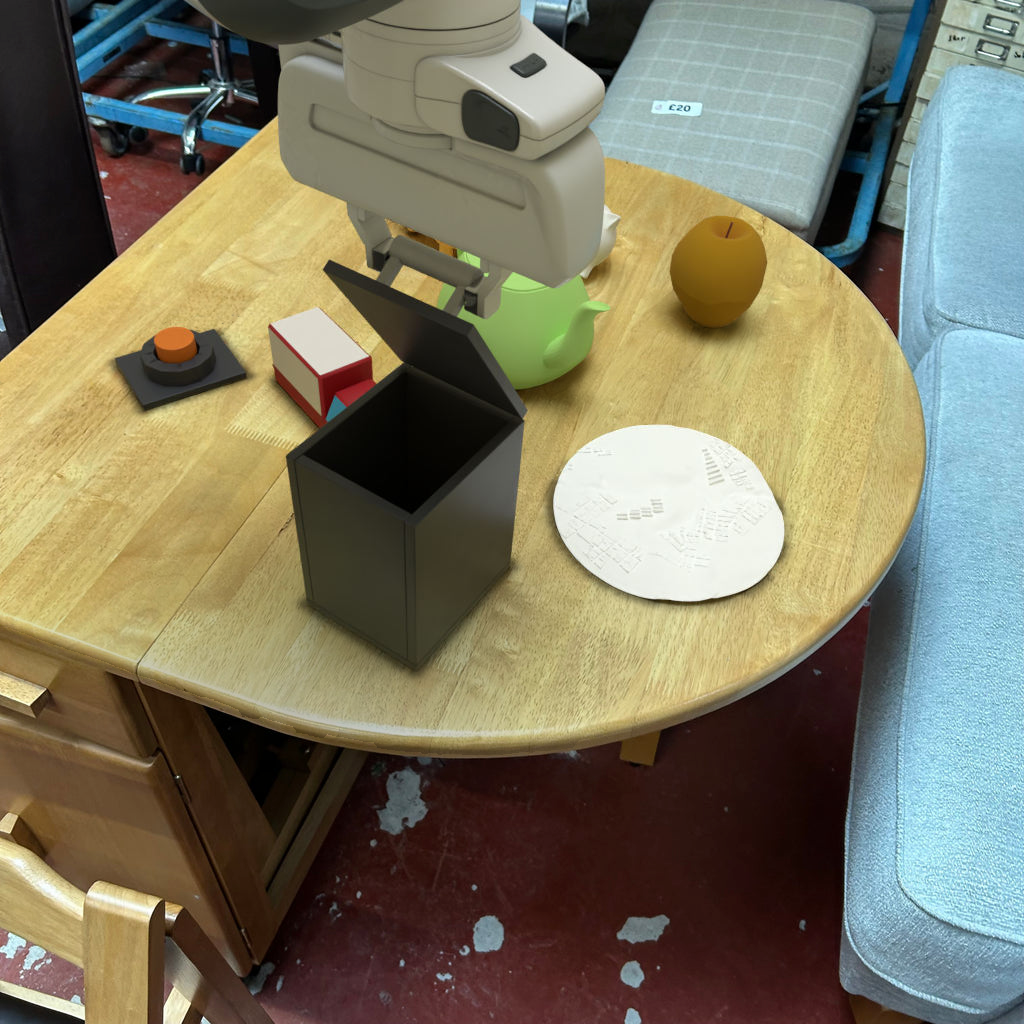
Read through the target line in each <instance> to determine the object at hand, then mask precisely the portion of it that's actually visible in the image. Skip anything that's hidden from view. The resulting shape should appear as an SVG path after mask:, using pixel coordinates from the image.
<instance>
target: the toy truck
mask: <svg viewBox="0 0 1024 1024" xmlns="http://www.w3.org/2000/svg"><path fill="white" fill-rule="evenodd" d="M267 330H268V338H269V345H270V352H271V358H272V367H273V372H274V373H273V374H274V379H275V381H276V382H277V383H278V384H279V385H280V386H281V387H282V388H283V389H284V391H285V392H286V393H287V394H288V395H289V396H290V397H291V398H292V399H293V401H295V403H296V404H297V405H298V406H299V407H300V408H301V409H302V410H303V411H304V412H305V413H306V415H307V416H308V417H309V418H310V419H311V420H312V422H314V423H315V425H316V426H317V427H318V428H319V429H320V428H321V427H322V426H324V425H325V424H326V423H328V422H329V421H330V420H331V419H333V418H334V417H335V416H336V415H338V414H339V413H340V412H341V411H343V410H344V409H345V408H347V407H348V406H349V405H350V404H352V403H353V402H354V401H355V400H357V399H358V398H359V397H360V396H362V395H363V394H364V393H366V392H367V391H368V390H369V389H371V388H372V387H373V386H374V385H376V384H377V383H378V382H376V381H375V380H374V373H373V357H372V356H371V355H370V354H369V353H368V352H367V351H366V350H365V349H364V348H363V347H362V346H361V345H360V344H358V342H356V341H355V340H354V339H353V337H351V336H350V335H349V334H348V333H347V332H346V331H345V330H344V329H343V328H342V327H341V326H340V325H339V324H338V323H337V322H335V320H334V319H332V318H331V316H330V315H329V314H328V313H326V312H325V311H324V310H323V309H322V308H321V307H319V306H316V307H312V308H310V309H306V310H304V311H302V312H298V313H295V314H293V315H290V316H288V317H284V318H282V319H280V320H276V321H273V322H270V323H269V324H268V326H267Z"/></svg>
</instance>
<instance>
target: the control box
mask: <svg viewBox="0 0 1024 1024" xmlns="http://www.w3.org/2000/svg"><path fill="white" fill-rule="evenodd" d="M189 330H190V331H192V333H193V334H194V338H195V343H196V347H197V354H196V356H195V357H194V358H192V359H191V360H189V361H185V362H182V363H165V362H162V361H161V360H160V359H159V358H158V355H157V351H156V347H155V343H154V338H155V336H156V334H154V335H153V336H152V337H151V338H149V339H148V340H147V341H145V342H144V343H143V344H142V346H141V350H137V351H133V352H129V353H127V354H123V355H119V356H117V357H115V358H114V361H115V364H116V366H117V368H118V369H119V371H120V373H121V374H122V375H123V377H124V379H125V381H126V383H127V384H128V386H129V388H130V389H131V391H132V392H133V394H134V396H135V398H136V399H137V401H138V402H139V404H140V406H141V408H142V409H143V411H148V410H150V409H153V408H156V407H159V406H163V405H167V404H170V403H172V402H175V401H179V400H182V399H184V398H187V397H190V396H194V395H197V394H200V393H204V392H206V391H209V390H212V389H215V388H218V387H221V386H225V385H229V384H231V383H234V382H238V381H241V380H243V379H246V378H247V377H248V376H247V371H246V370H245V369H244V367H243V366H242V364H241V363H240V362H239V360H238V359H237V358H236V356H235V355H234V353H233V352H232V350H231V349H230V348H229V347H228V345H227V344H226V343H225V341H224V340H223V339H222V337H221V335H220V334H219V333H218V332H217V330H216V329H215V328H212V329H209V330H205V331H202V332H199V331H196V330H194V329H189Z"/></svg>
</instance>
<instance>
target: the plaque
mask: <svg viewBox="0 0 1024 1024" xmlns="http://www.w3.org/2000/svg"><path fill="white" fill-rule="evenodd" d="M552 505H553V506H552V507H553V515H554V520H555V525H556V527H557V531H558V533H559V535H560V537H561V539H562V541H563V543H564V544H565V546H566V547H567V549H568V550H569V552H570V554H572V556H573V557H574V558H575V559H576V560H577V561H578V562H579V563H580V564H581V565H582V566H583V567H584V568H585V569H586V570H588V571H589V572H590V573H591V574H593V575H594V576H596V577H597V578H598V579H600V580H602V581H603V582H605V583H606V584H608V585H610V586H612V587H614V588H616V589H618V590H620V591H622V592H624V593H627V594H630V595H633V596H636V597H639V598H644V599H650V600H671V601H678V602H700V601H705V600H709V599H719V598H723V597H727V596H731V595H734V594H737V593H740V592H743V591H745V590H747V589H749V588H751V587H753V586H754V585H756V584H757V583H759V582H760V581H762V579H763V578H764V577H765V576H766V575H767V574H768V573H769V572H770V571H771V569H772V568H773V567H774V565H775V564H776V563H777V561H778V559H779V557H780V555H781V552H782V550H783V546H784V541H785V522H784V517H783V513H782V511H781V509H780V507H779V505H778V503H777V501H776V498H775V496H774V493H773V491H772V489H771V487H770V486H769V485H768V483H767V481H766V480H765V477H764V476H763V474H762V472H761V471H760V469H759V468H758V466H757V465H756V463H754V461H752V460H751V459H750V458H749V457H748V456H747V455H745V454H744V453H743V452H742V451H741V450H739V449H737V448H736V447H735V446H733V445H732V444H730V443H729V442H726V441H724V440H722V439H721V438H718V437H715V436H713V435H711V434H708V433H706V432H703V431H700V430H696V429H693V428H688V427H681V426H676V425H672V424H639V425H632V426H627V427H622V428H619V429H616V430H613V431H609V432H607V433H604V434H602V435H600V436H597V437H596V438H593V440H591V441H589V442H587V443H586V444H585V445H583V446H582V447H581V448H580V449H579V450H577V452H576V453H574V455H572V457H571V458H570V459H569V460H568V461H567V463H566V464H565V465H564V467H563V469H562V471H561V473H560V474H559V476H558V480H557V482H556V485H555V489H554V492H553V501H552Z"/></svg>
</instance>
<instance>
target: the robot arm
mask: <svg viewBox="0 0 1024 1024" xmlns="http://www.w3.org/2000/svg"><path fill="white" fill-rule="evenodd" d="M183 1H184V2H185V3H187V4H188V5H190V6H192V7H193V8H194V9H196V10H197V11H198V12H200V13H201V14H203V15H204V16H206V17H207V18H209V19H210V20H211V21H213V22H215V23H216V24H218V25H219V26H221V27H223V28H224V29H227V30H229V31H231V32H232V33H235V34H237V35H239V36H240V37H243V38H246V39H248V40H251V41H253V42H257V43H262V44H267V45H274V46H278V54H279V61H280V69H281V71H280V74H279V77H278V88H277V90H278V91H277V129H278V130H277V131H278V146H279V155H280V160H281V162H282V164H283V166H284V168H285V169H286V171H287V172H288V174H289V176H290V177H291V179H292V180H293V181H295V182H297V183H299V184H302V185H304V186H307V187H308V188H311V189H313V190H316V191H319V192H321V193H323V194H325V195H328V196H330V197H332V198H334V199H337V200H340V201H342V202H345V203H346V212H347V216H348V217H347V218H348V219H349V220H350V223H351V224H352V226H353V228H354V230H355V231H356V233H357V235H358V237H359V239H360V241H361V242H362V244H363V245H364V247H365V259H366V261H365V262H366V267H367V268H368V269H370V270H372V271H375V272H377V273H379V274H380V273H381V271H382V269H383V268H384V266H385V264H386V263H387V261H388V259H389V258H390V256H389V249H390V245H391V243H392V241H393V240H394V238H395V237H394V236H393V235H392V233H391V231H390V228H389V225H388V223H387V220H388V221H390V222H393V223H395V224H397V225H399V226H402V227H405V228H407V229H408V228H409V229H412V230H414V231H416V232H417V233H419V234H421V235H424V236H426V237H429V238H431V239H434V240H435V239H436V240H438V241H440V242H443V243H445V244H448V245H450V246H452V247H455V248H457V249H460V250H462V251H464V252H467V253H469V254H471V255H474V256H476V257H479V258H480V270H481V271H482V272H484V273H489V275H488V276H487V277H485V276H483V275H481V276H480V277H479V278H478V279H476V280H475V283H471V284H469V285H468V286H467V287H466V288H464V298H465V300H466V303H465V304H464V309H465V310H466V311H468V312H470V313H472V314H474V315H476V316H479V317H481V318H483V319H488V318H489V317H491V316H492V315H493V314H494V313H495V312H497V310H498V309H499V306H500V303H501V287H502V285H503V284H504V283H505V281H506V280H507V279H508V278H509V276H510V275H511V274H512V273H513V272H515V273H517V274H519V275H522V276H524V277H526V278H529V279H531V280H534V281H536V282H538V283H541V284H543V285H545V286H548V287H551V288H559V287H561V286H563V285H564V284H566V283H567V282H569V281H571V280H572V279H574V278H575V277H576V276H577V275H579V274H580V273H581V272H582V271H583V270H585V269H586V268H587V267H588V266H589V265H590V263H591V262H592V261H593V260H594V258H595V257H596V255H597V253H598V250H599V246H600V241H601V235H602V226H603V216H604V204H605V199H606V198H605V197H606V196H605V194H606V165H605V163H606V162H605V157H604V152H603V148H602V146H601V143H600V141H599V139H598V137H597V135H596V134H595V132H594V131H593V130H592V129H591V127H589V125H590V124H592V123H593V122H594V121H595V120H596V119H597V118H598V117H599V115H600V114H601V112H602V111H603V108H604V103H605V97H606V87H605V83H604V81H603V79H602V78H601V77H600V76H599V74H598V73H596V72H595V71H593V69H591V68H590V67H588V66H587V65H586V64H584V63H583V62H582V61H580V60H578V59H577V58H576V57H575V56H573V55H572V54H571V53H569V52H568V51H567V50H565V49H564V48H562V47H561V46H560V45H559V44H557V43H556V42H555V41H554V40H553V39H552V38H550V37H548V36H547V34H545V33H544V32H543V31H541V29H539V27H537V26H536V25H535V24H534V23H533V22H532V21H531V20H530V19H529V18H527V17H526V16H525V15H523V14H521V10H522V9H521V7H522V0H183ZM416 232H415V233H416ZM436 240H435V241H436ZM457 249H456V250H457Z"/></svg>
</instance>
